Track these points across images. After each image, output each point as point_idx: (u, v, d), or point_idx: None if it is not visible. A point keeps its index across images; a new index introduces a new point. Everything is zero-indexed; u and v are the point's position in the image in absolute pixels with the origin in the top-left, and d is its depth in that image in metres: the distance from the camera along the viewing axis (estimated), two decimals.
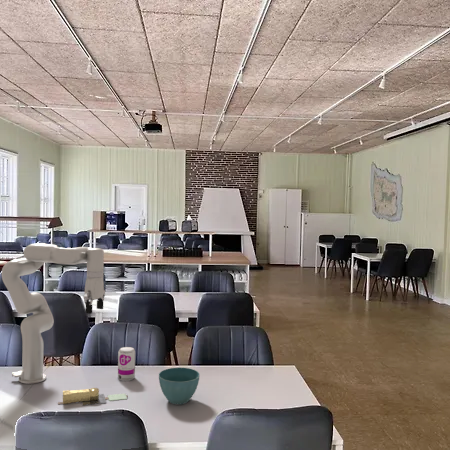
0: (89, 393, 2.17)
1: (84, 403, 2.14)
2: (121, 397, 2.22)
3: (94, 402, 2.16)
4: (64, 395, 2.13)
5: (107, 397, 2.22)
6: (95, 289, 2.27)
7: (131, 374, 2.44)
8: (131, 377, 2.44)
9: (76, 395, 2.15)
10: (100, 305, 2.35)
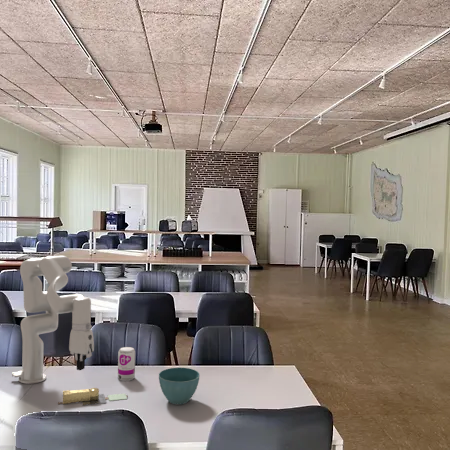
0: (89, 393, 2.17)
1: (84, 403, 2.14)
2: (121, 397, 2.22)
3: (94, 402, 2.16)
4: (64, 395, 2.13)
5: (107, 397, 2.22)
6: (71, 341, 2.09)
7: (131, 374, 2.44)
8: (131, 377, 2.44)
9: (76, 395, 2.15)
10: None
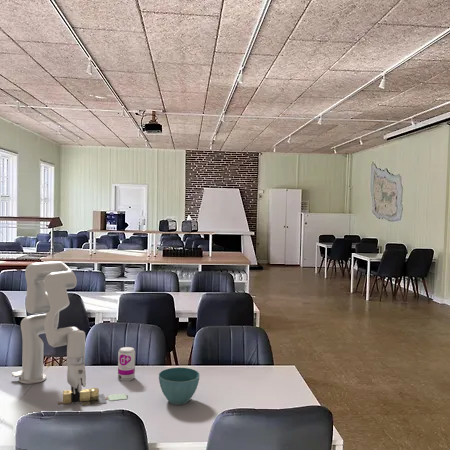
0: (89, 393, 2.17)
1: (84, 403, 2.14)
2: (121, 397, 2.22)
3: (94, 402, 2.16)
4: (64, 395, 2.13)
5: (107, 397, 2.22)
6: (67, 372, 2.14)
7: (131, 374, 2.44)
8: (131, 377, 2.44)
9: None
10: None
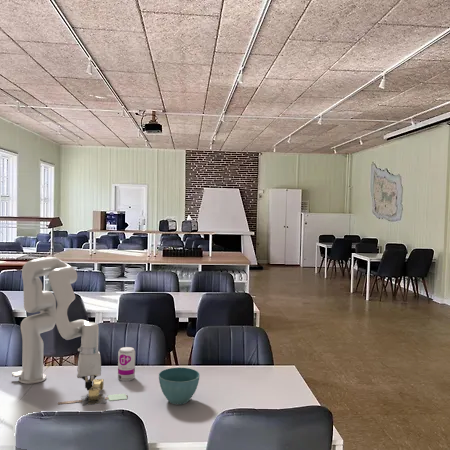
0: None
1: (84, 403, 2.14)
2: (121, 397, 2.22)
3: (94, 402, 2.16)
4: None
5: (107, 397, 2.22)
6: None
7: (131, 374, 2.44)
8: (131, 377, 2.44)
9: None
10: None
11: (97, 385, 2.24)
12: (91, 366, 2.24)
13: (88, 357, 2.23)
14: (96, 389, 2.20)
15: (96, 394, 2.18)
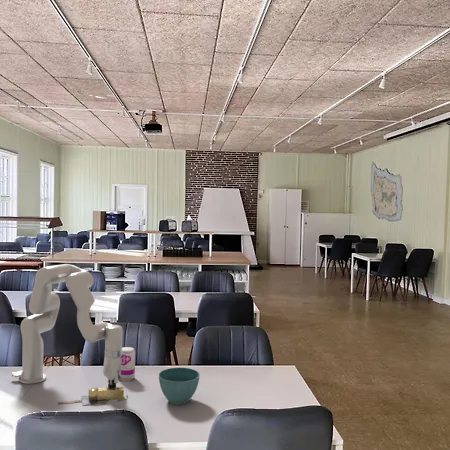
0: None
1: (84, 403, 2.14)
2: None
3: (94, 402, 2.16)
4: None
5: None
6: None
7: (131, 374, 2.44)
8: (131, 377, 2.44)
9: None
10: None
11: (105, 389, 2.20)
12: (107, 368, 2.22)
13: (106, 359, 2.23)
14: (94, 390, 2.18)
15: (90, 394, 2.17)
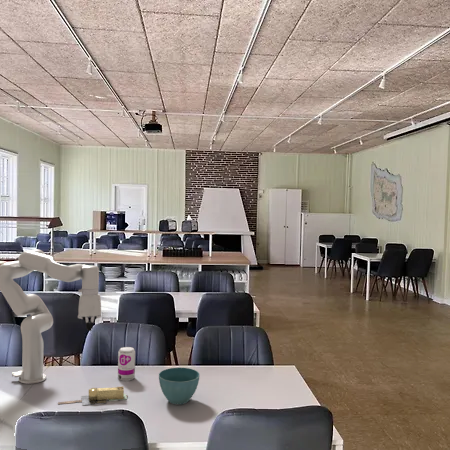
0: None
1: (84, 403, 2.14)
2: None
3: (94, 402, 2.16)
4: None
5: None
6: None
7: (131, 374, 2.44)
8: (131, 377, 2.44)
9: None
10: None
11: (105, 389, 2.20)
12: (91, 307, 2.31)
13: (88, 298, 2.30)
14: (94, 390, 2.18)
15: (90, 394, 2.17)
